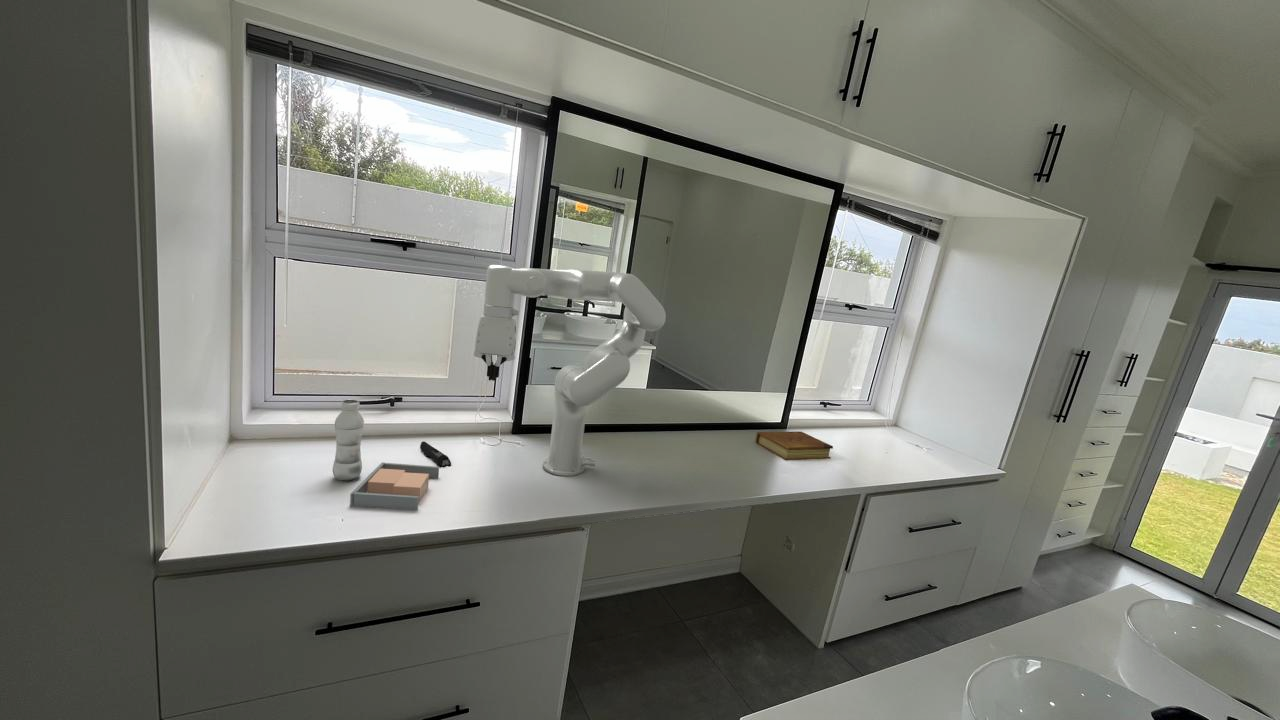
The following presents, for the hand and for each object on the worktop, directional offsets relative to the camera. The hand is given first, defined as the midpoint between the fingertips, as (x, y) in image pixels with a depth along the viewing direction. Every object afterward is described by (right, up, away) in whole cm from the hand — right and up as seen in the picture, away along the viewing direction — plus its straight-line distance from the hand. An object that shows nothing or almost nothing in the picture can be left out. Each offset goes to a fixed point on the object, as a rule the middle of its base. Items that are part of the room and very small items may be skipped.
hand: (492, 379), depth 133 cm
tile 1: (-22, -27, -13) cm, 37 cm away
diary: (+101, -32, +64) cm, 124 cm away
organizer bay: (-20, -27, -12) cm, 35 cm away
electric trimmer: (-20, -24, +10) cm, 33 cm away
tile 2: (-16, -28, -13) cm, 35 cm away
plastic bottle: (-34, -25, -9) cm, 43 cm away
